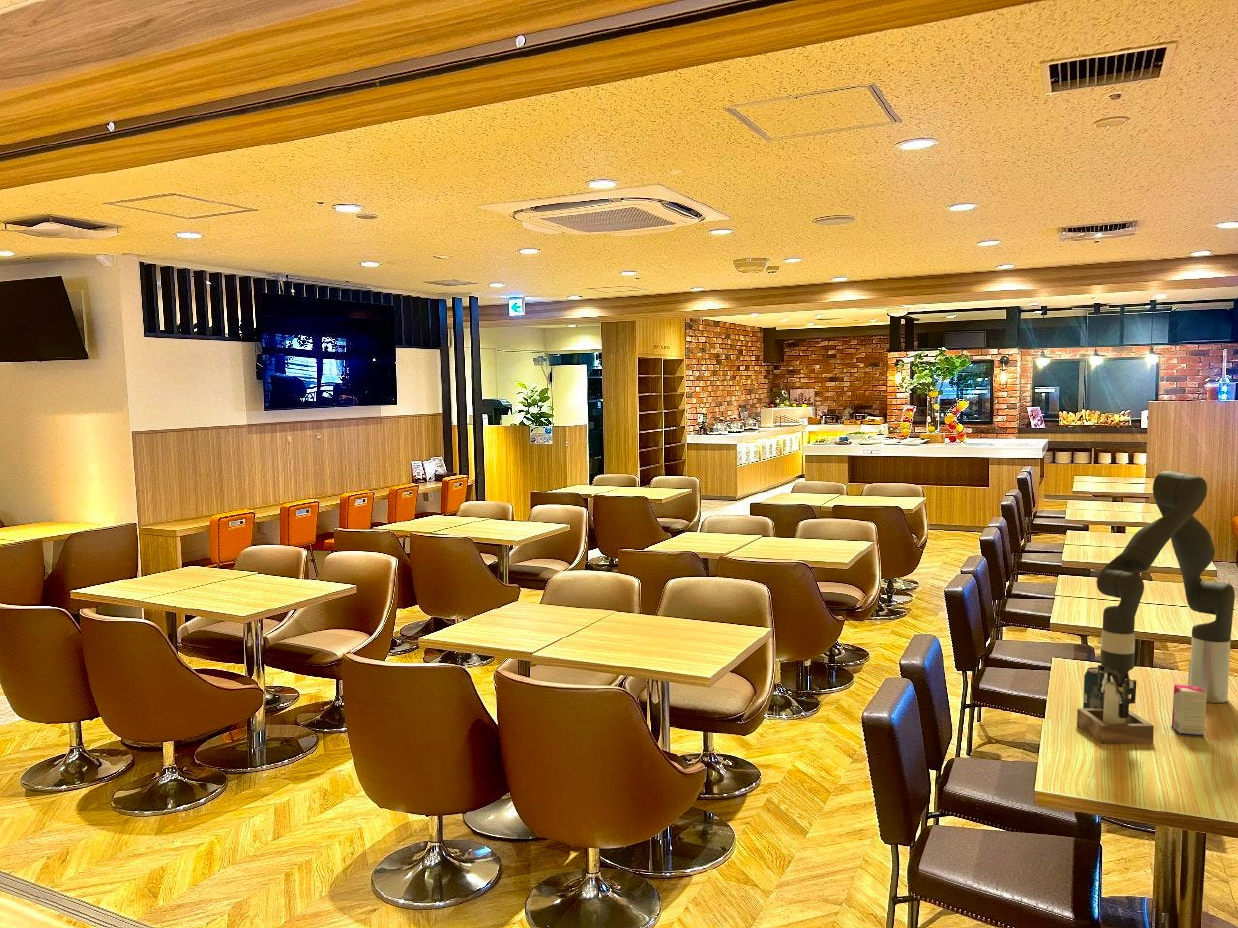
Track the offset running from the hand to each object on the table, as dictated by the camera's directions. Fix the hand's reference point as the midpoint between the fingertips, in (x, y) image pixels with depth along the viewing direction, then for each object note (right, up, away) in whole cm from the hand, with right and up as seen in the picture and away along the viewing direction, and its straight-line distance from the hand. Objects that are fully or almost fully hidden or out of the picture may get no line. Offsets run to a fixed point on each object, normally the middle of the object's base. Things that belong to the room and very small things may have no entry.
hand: (1115, 712), depth 235 cm
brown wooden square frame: (0, -6, 0) cm, 6 cm away
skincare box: (0, -5, 0) cm, 5 cm away
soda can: (+3, -5, +15) cm, 16 cm away
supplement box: (+19, -6, +2) cm, 20 cm away
